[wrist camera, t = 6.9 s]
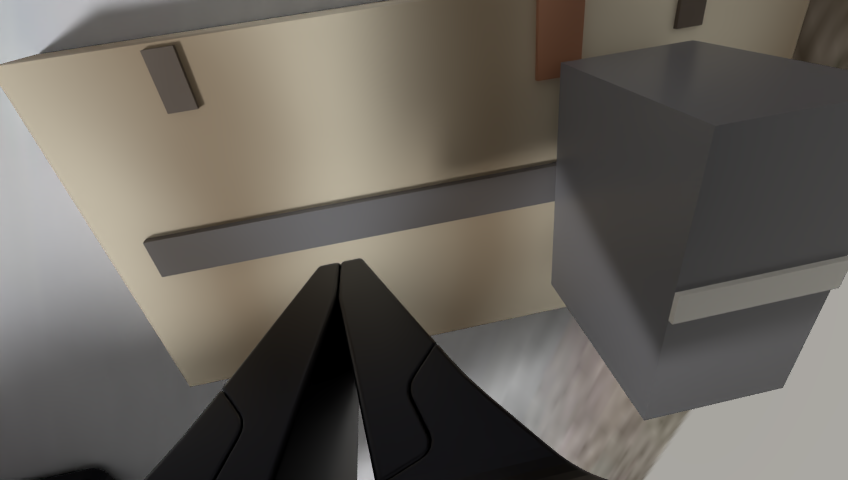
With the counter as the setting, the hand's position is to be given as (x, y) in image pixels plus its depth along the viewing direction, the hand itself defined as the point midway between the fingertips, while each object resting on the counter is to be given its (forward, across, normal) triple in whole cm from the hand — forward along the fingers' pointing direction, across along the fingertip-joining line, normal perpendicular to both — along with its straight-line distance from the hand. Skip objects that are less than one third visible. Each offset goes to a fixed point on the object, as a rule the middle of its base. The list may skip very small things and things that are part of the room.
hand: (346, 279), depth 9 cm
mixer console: (+4, -3, 0) cm, 5 cm away
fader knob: (+2, -7, 0) cm, 7 cm away
